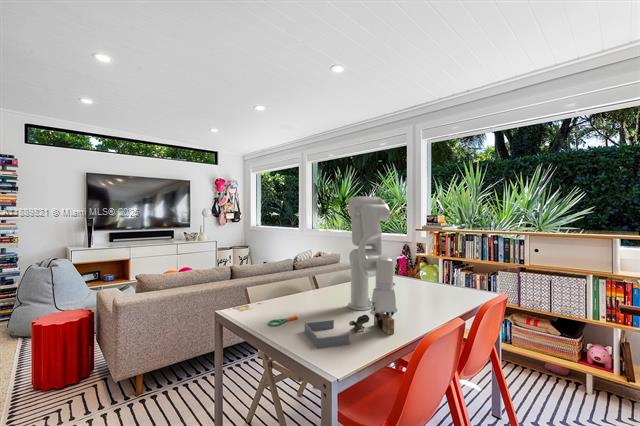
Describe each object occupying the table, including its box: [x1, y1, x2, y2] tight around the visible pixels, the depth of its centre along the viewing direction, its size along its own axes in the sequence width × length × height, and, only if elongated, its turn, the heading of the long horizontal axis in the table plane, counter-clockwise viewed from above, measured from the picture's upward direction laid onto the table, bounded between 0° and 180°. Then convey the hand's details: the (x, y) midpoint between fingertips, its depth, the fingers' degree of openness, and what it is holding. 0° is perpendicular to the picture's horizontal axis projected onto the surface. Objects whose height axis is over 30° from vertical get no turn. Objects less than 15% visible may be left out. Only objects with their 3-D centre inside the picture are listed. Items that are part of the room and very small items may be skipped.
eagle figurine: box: [348, 314, 371, 334], centre depth 136 cm, size 8×7×9 cm
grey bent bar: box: [304, 319, 350, 349], centre depth 128 cm, size 13×18×4 cm
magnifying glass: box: [267, 315, 299, 327], centre depth 145 cm, size 15×6×2 cm, turn 127°
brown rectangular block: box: [373, 310, 395, 335], centre depth 137 cm, size 3×12×6 cm, turn 19°
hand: (383, 327), depth 137 cm, fingers closed on brown rectangular block, 3 cm apart
